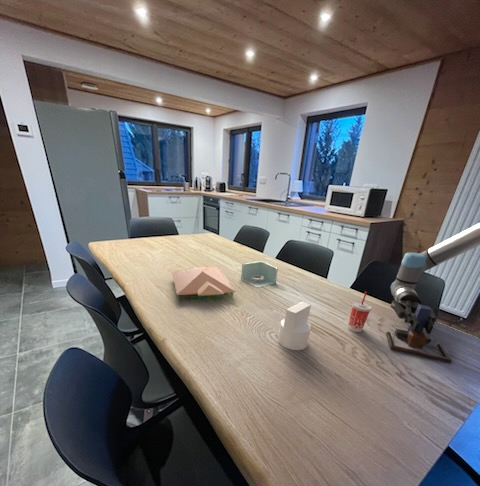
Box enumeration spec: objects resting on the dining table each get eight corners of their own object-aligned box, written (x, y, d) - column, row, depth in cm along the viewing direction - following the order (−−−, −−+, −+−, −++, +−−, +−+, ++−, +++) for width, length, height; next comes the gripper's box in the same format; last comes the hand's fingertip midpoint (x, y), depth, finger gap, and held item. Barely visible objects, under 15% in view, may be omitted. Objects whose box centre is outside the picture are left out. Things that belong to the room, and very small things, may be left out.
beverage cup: (367, 330, 91) (379, 293, 85) (358, 335, 88) (370, 296, 82) (351, 322, 96) (362, 286, 90) (342, 326, 92) (352, 290, 86)
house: (177, 305, 97) (177, 285, 94) (171, 275, 126) (171, 258, 122) (237, 302, 104) (238, 282, 101) (218, 273, 132) (219, 258, 129)
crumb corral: (439, 346, 85) (441, 343, 85) (450, 363, 77) (452, 360, 76) (386, 334, 90) (387, 331, 89) (390, 349, 81) (391, 346, 81)
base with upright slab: (297, 353, 76) (304, 317, 70) (272, 340, 81) (277, 305, 76) (312, 342, 82) (320, 307, 77) (288, 330, 87) (294, 297, 82)
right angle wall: (241, 278, 128) (242, 263, 125) (259, 275, 135) (261, 261, 132) (256, 287, 120) (258, 271, 117) (275, 283, 127) (278, 268, 123)
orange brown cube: (419, 342, 86) (424, 332, 84) (422, 349, 83) (427, 338, 81) (405, 339, 87) (410, 329, 86) (408, 346, 84) (412, 335, 82)
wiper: (427, 339, 88) (441, 308, 83) (430, 343, 85) (444, 312, 80) (394, 332, 91) (406, 302, 86) (396, 336, 88) (408, 305, 83)
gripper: (427, 313, 100) (448, 345, 80) (381, 304, 104) (390, 333, 84) (435, 295, 97) (459, 324, 77) (387, 287, 101) (398, 312, 81)
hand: (423, 328), depth 80 cm, fingers closed on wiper, 3 cm apart
